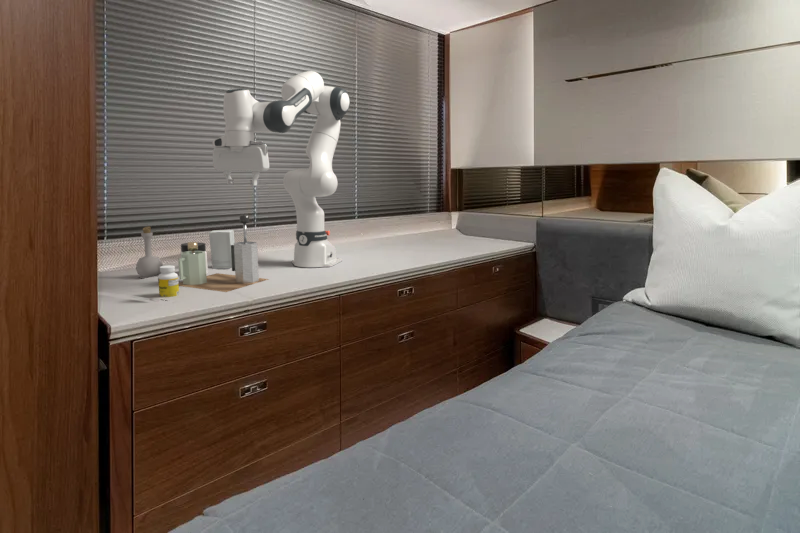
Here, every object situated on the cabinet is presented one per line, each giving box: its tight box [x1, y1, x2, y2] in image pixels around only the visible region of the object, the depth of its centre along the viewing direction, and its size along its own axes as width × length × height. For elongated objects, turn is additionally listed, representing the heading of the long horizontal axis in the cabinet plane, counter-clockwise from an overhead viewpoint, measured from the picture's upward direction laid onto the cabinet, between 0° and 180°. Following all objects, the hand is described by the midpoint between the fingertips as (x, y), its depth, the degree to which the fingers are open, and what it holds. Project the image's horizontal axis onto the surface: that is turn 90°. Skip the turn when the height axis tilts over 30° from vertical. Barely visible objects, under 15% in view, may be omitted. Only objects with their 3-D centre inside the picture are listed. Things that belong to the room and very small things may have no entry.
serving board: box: [178, 272, 270, 293], centre depth 165 cm, size 21×23×1 cm
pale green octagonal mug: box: [177, 251, 207, 285], centre depth 162 cm, size 10×7×10 cm
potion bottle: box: [135, 225, 164, 280], centre depth 175 cm, size 9×9×18 cm
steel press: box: [231, 240, 260, 284], centre depth 166 cm, size 7×10×13 cm
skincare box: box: [208, 229, 236, 270], centre depth 194 cm, size 8×6×15 cm
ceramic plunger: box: [187, 241, 199, 254], centre depth 162 cm, size 5×5×10 cm
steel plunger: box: [239, 214, 250, 244], centre depth 164 cm, size 5×5×11 cm
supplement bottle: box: [157, 265, 180, 302], centre depth 146 cm, size 5×5×10 cm
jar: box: [180, 241, 209, 275], centre depth 177 cm, size 9×8×12 cm
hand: (242, 185), depth 161 cm, fingers open, 8 cm apart
